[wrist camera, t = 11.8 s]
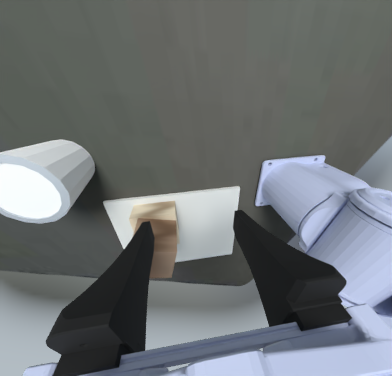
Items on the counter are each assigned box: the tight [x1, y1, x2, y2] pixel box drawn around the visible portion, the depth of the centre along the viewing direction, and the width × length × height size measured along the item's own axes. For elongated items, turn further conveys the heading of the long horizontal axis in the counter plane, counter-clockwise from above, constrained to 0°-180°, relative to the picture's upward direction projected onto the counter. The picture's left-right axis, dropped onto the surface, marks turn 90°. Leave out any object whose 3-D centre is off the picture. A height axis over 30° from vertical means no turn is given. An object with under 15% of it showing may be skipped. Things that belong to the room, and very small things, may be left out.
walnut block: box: [133, 218, 177, 278], centre depth 20 cm, size 5×5×5 cm
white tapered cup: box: [0, 139, 95, 223], centre depth 16 cm, size 7×7×7 cm
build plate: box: [103, 186, 240, 262], centre depth 27 cm, size 20×16×1 cm
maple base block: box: [129, 201, 180, 244], centre depth 23 cm, size 6×6×3 cm
